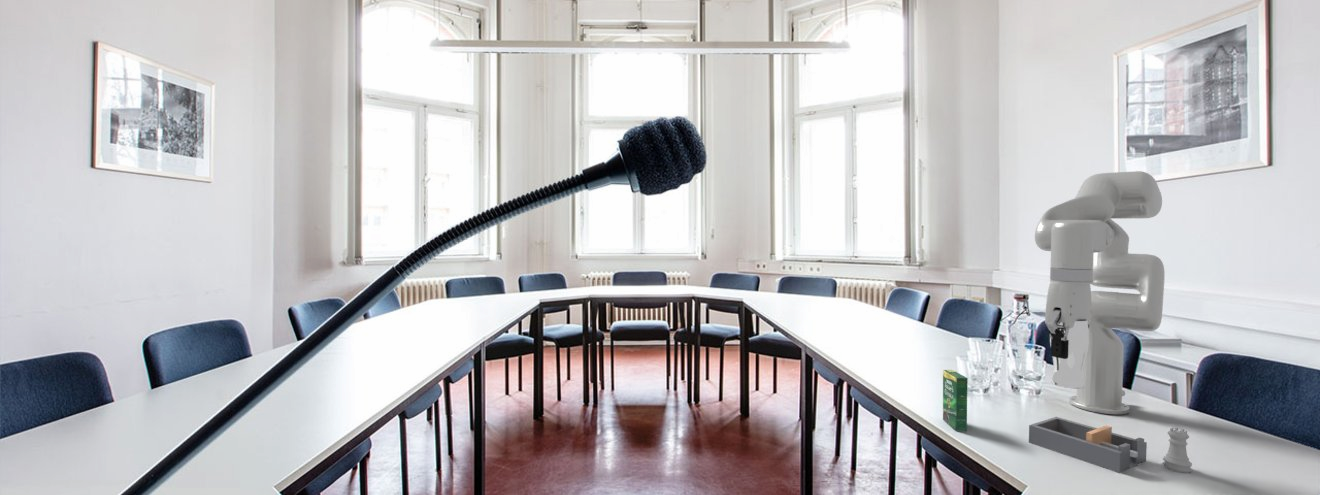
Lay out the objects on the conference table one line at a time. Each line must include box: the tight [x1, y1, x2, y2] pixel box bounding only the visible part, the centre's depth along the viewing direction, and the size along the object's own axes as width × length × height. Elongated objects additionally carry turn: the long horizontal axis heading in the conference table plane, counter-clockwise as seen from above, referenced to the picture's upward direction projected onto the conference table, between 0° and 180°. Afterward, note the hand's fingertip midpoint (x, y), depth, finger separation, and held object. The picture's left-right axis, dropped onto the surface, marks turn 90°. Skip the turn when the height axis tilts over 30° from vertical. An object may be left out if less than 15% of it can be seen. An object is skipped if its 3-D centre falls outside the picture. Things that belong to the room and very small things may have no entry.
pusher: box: [1086, 425, 1138, 458], centre depth 113 cm, size 8×7×5 cm
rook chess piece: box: [1161, 427, 1193, 474], centre depth 109 cm, size 4×4×8 cm
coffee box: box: [942, 369, 969, 432], centre depth 133 cm, size 8×3×13 cm, turn 174°
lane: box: [1028, 416, 1148, 474], centre depth 118 cm, size 11×17×5 cm
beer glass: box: [1049, 319, 1089, 390], centre depth 120 cm, size 7×7×15 cm
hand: (1068, 354), depth 120 cm, fingers closed on beer glass, 6 cm apart
